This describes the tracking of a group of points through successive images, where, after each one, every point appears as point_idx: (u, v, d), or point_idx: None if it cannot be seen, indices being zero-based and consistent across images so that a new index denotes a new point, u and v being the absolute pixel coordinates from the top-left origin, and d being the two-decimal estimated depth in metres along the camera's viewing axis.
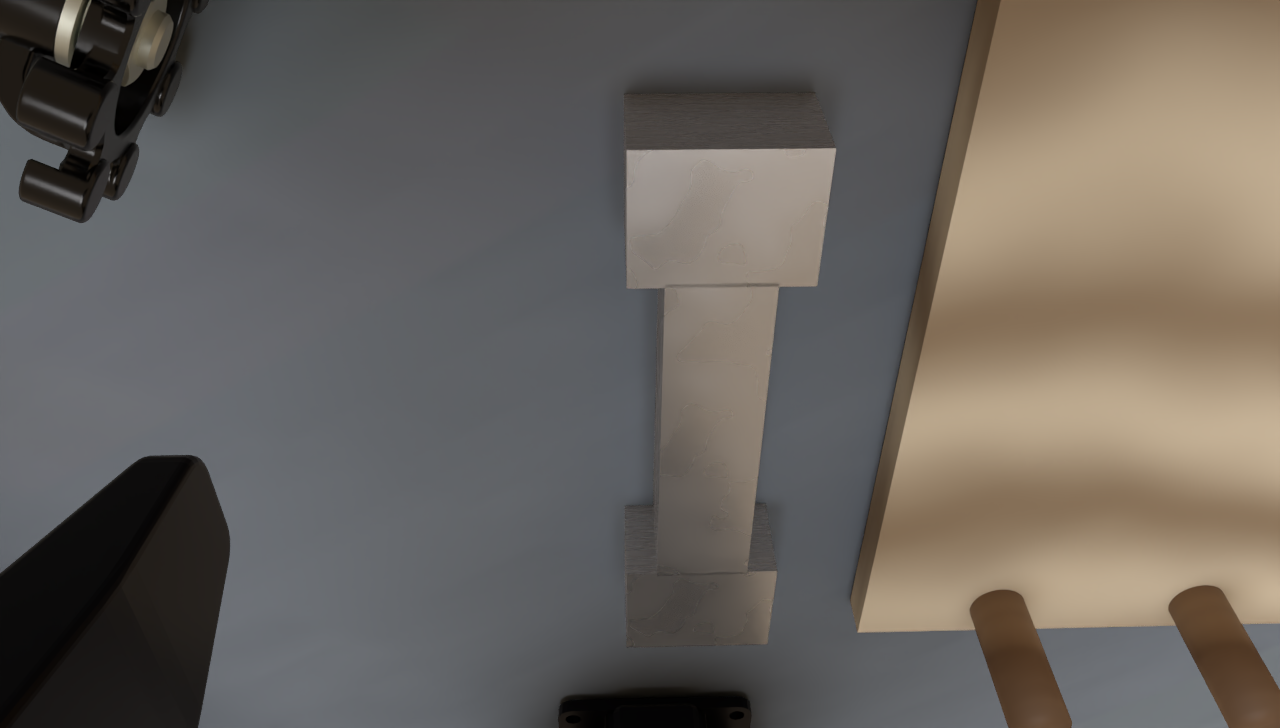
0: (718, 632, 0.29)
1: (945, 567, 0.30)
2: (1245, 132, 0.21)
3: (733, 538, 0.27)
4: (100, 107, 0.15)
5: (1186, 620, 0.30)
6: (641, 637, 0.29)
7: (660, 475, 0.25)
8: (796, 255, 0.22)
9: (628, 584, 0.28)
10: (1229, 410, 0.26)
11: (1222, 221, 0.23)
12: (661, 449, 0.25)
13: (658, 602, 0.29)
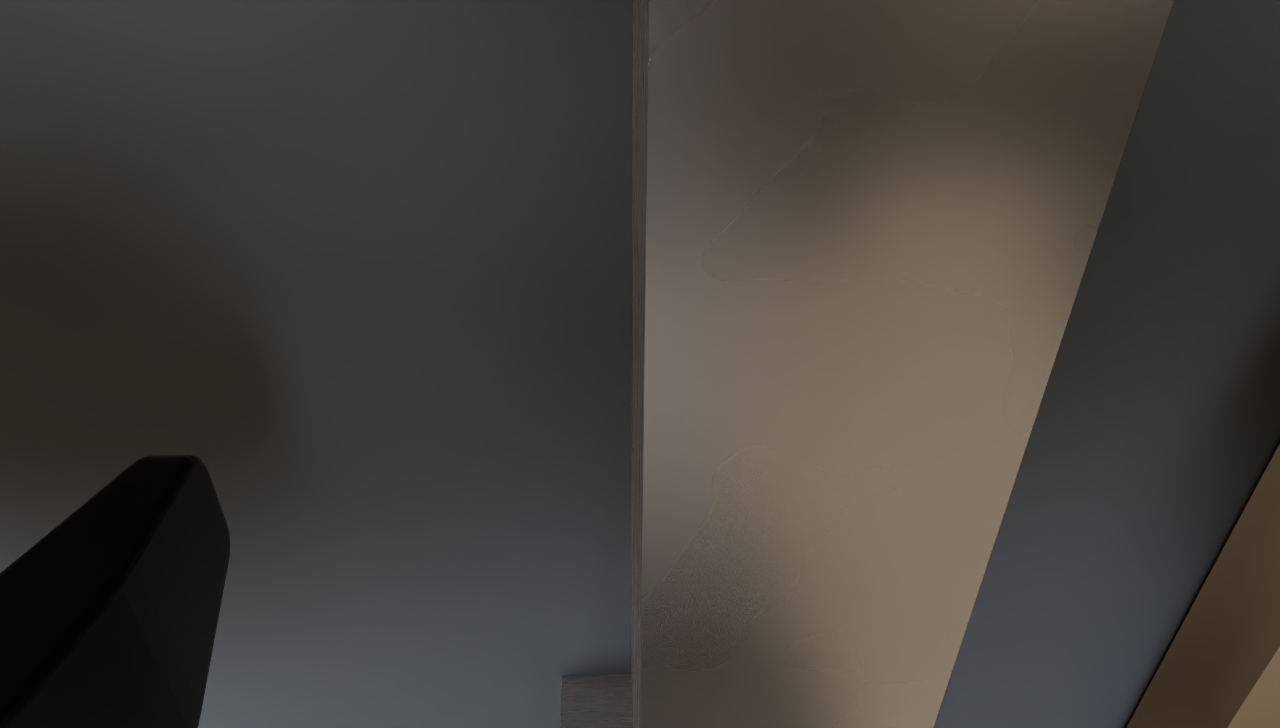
0: None
1: None
2: None
3: None
4: None
5: None
6: None
7: (643, 668, 0.08)
8: None
9: None
10: None
11: None
12: (645, 595, 0.07)
13: None
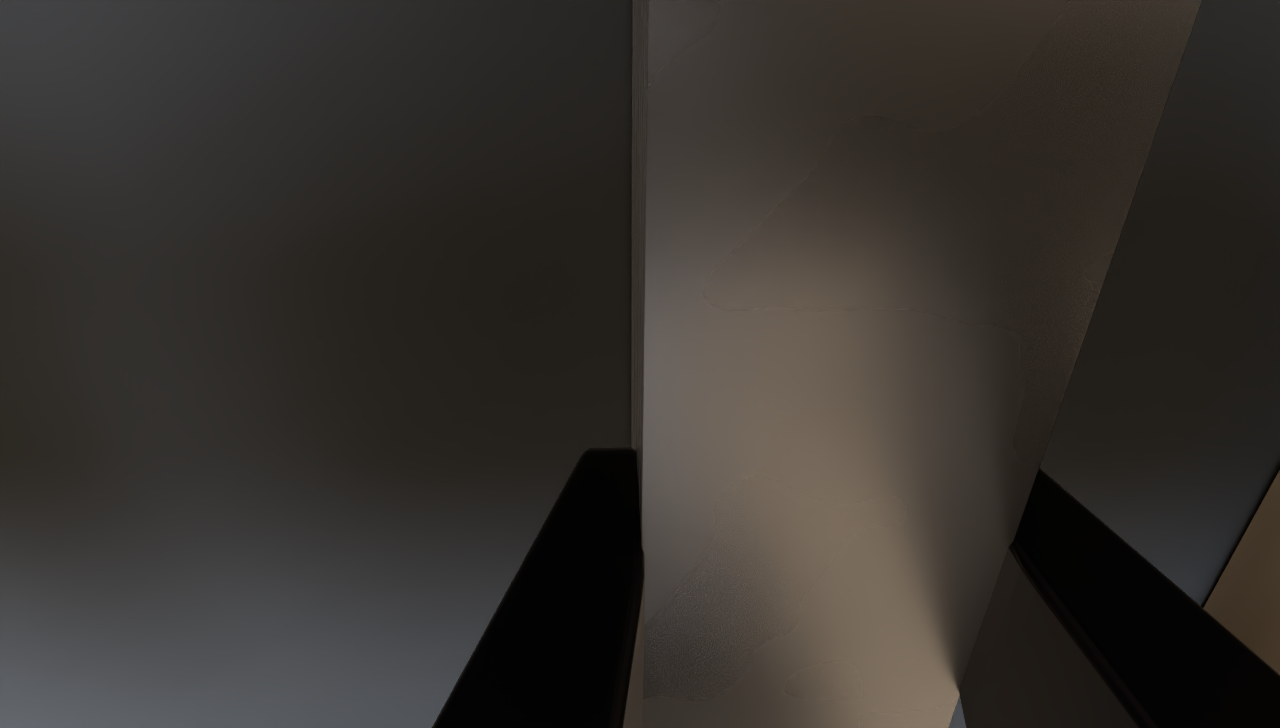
0: None
1: None
2: None
3: None
4: None
5: None
6: None
7: None
8: None
9: None
10: None
11: None
12: (644, 625, 0.07)
13: None
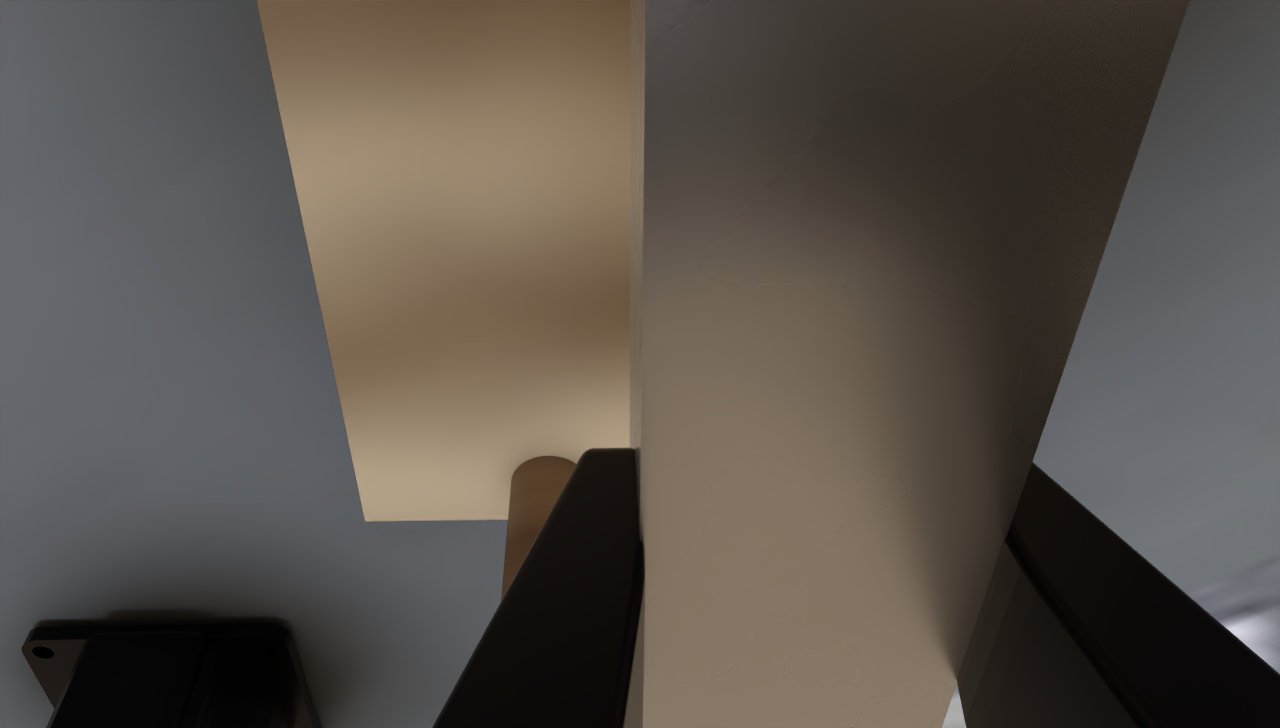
0: None
1: (450, 419, 0.21)
2: None
3: None
4: None
5: None
6: None
7: None
8: None
9: None
10: None
11: None
12: None
13: None
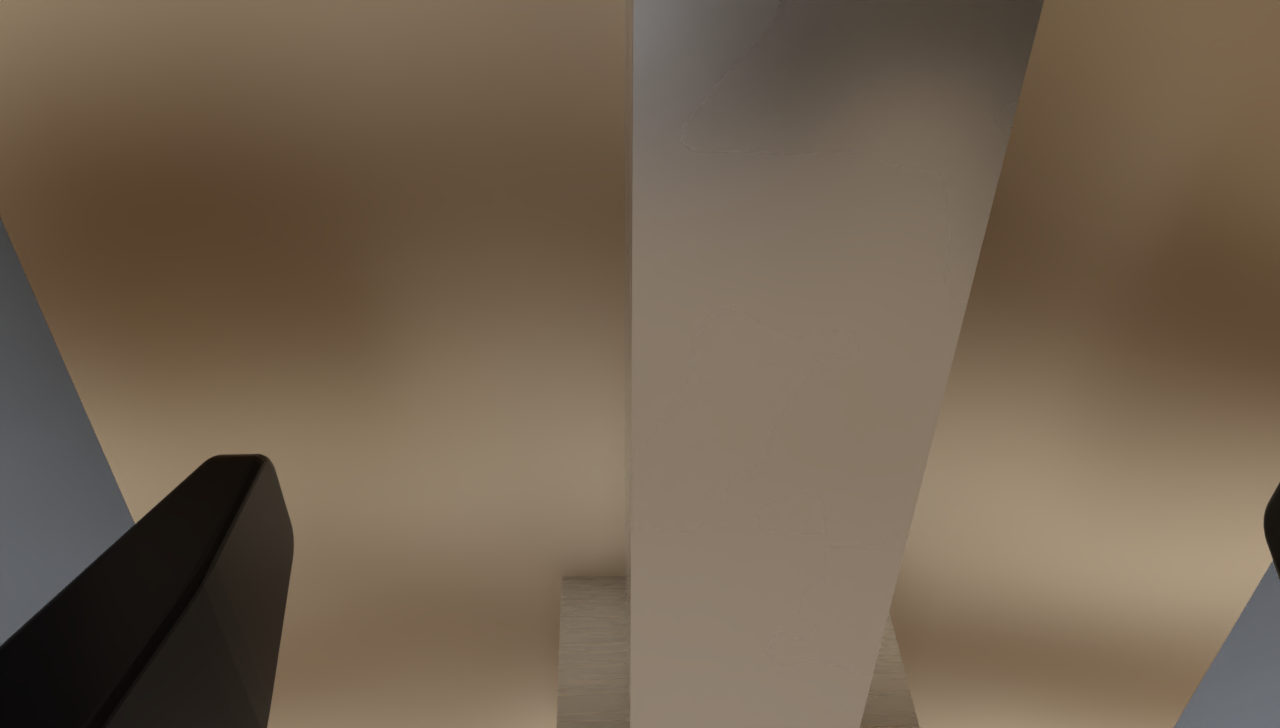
0: None
1: None
2: None
3: (825, 684, 0.10)
4: None
5: None
6: None
7: (633, 529, 0.09)
8: None
9: None
10: None
11: None
12: (634, 455, 0.08)
13: None
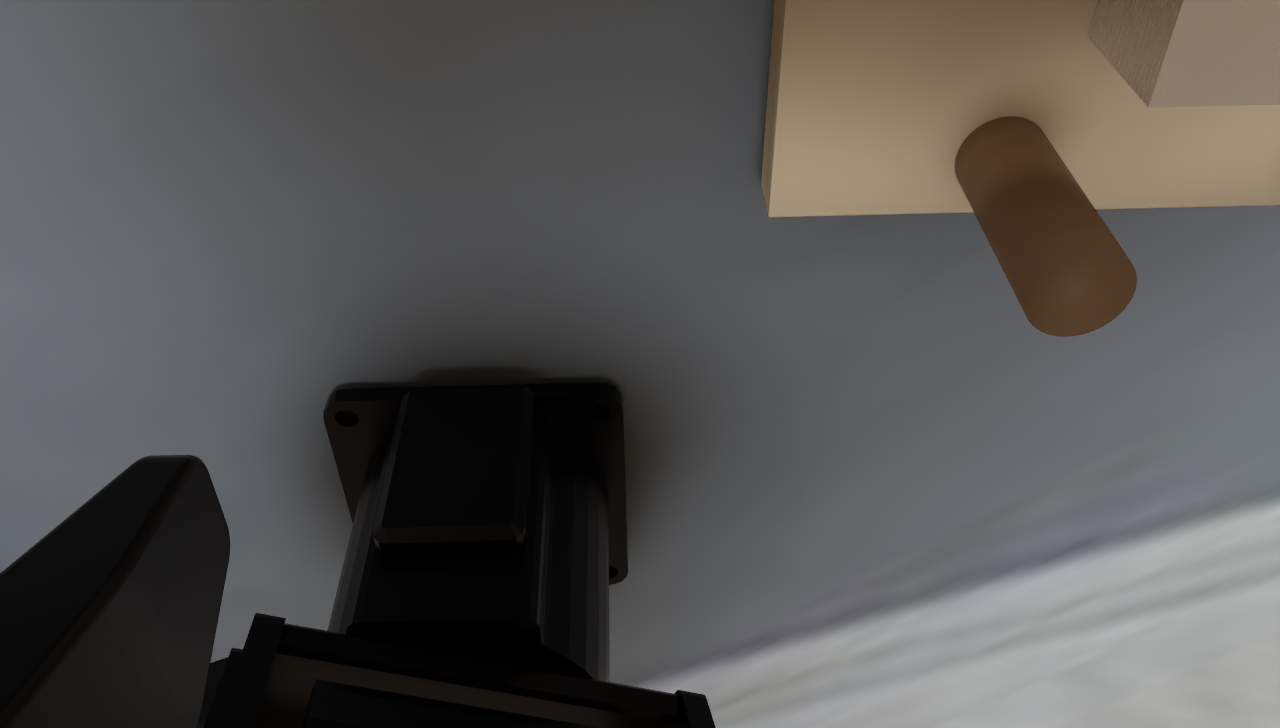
0: None
1: (908, 61, 0.17)
2: None
3: None
4: None
5: None
6: (1187, 80, 0.15)
7: None
8: None
9: None
10: None
11: None
12: None
13: None
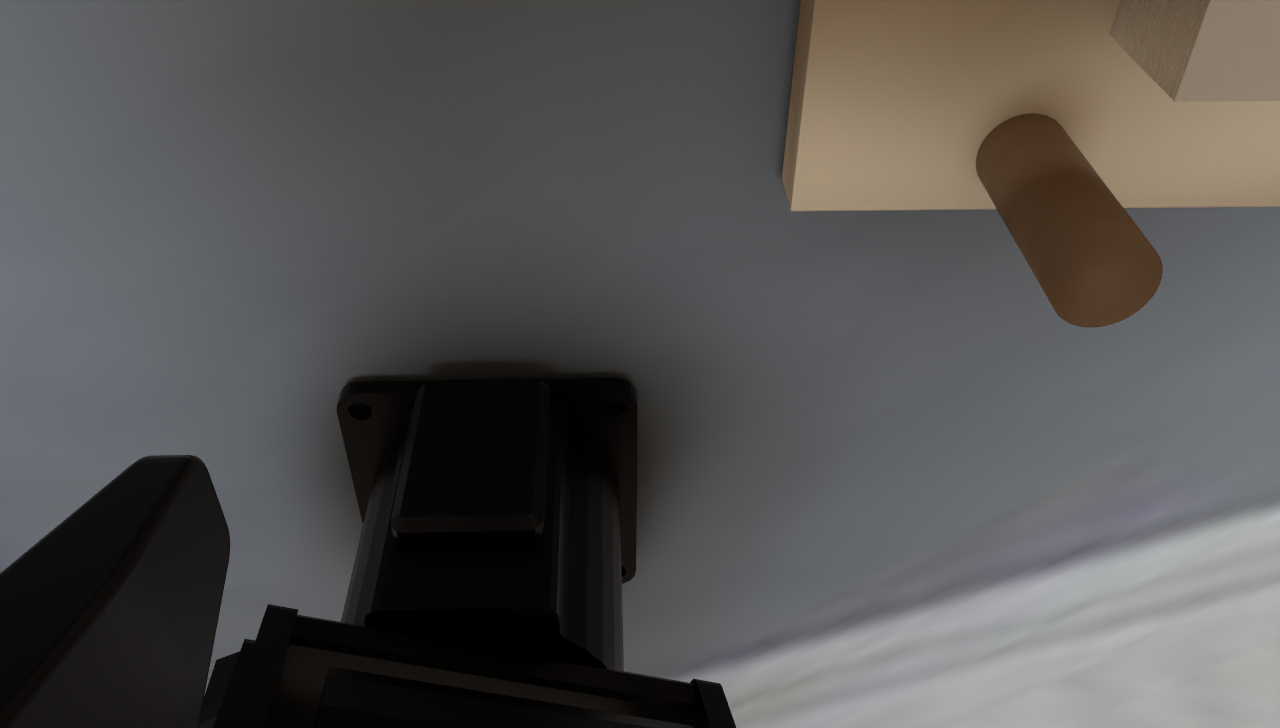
0: None
1: (934, 56, 0.17)
2: None
3: None
4: None
5: None
6: (1213, 74, 0.15)
7: None
8: None
9: None
10: None
11: None
12: None
13: None
